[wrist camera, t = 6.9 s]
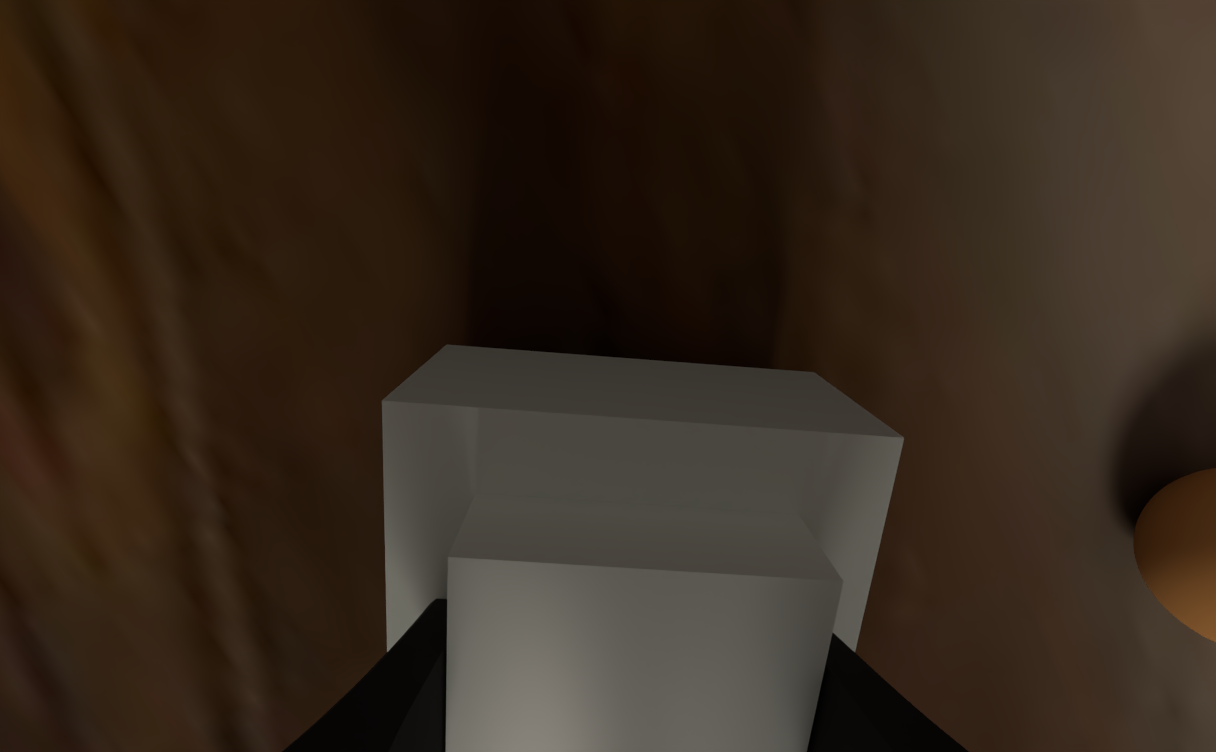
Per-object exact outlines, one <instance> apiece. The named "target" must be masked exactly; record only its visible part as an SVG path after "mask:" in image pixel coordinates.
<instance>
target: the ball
mask: <svg viewBox="0 0 1216 752" xmlns="http://www.w3.org/2000/svg"><path fill="white" fill-rule="evenodd" d="M1134 554H1135V558H1136V562H1137V565H1138V569H1139V571H1140V573H1141V575H1142V577H1143V579H1144V581H1145V583H1146V585H1147V586H1148V587H1149V589H1150V590H1151V592H1152V593H1153V594H1154V596H1155V597H1156V598H1157V600H1158V601H1159V602H1160V603H1161V604H1162V605H1163V606H1164V607H1165V608H1166V609H1167V610H1168V611H1169V612H1170V613H1171V614H1172V615H1173V616H1175V617H1176V618H1177V619H1178V620H1180V621H1181V622H1182V623H1183V624H1185V625H1186V626H1188V627H1189V628H1191V629H1192V630H1194V631H1196V632H1197V633H1199V634H1200V635H1202V636H1204V637H1206V638H1208V639H1210V640H1212V641H1214V642H1216V468H1212V469H1206V470H1201V471H1198V472H1195V473H1192V474H1189V475H1186V476H1184V477H1181V478H1179V479H1177V480H1175V481H1173V482H1171V483H1170V484H1168V485H1167V486H1165V487H1164V488H1162V489H1161V490H1160V491H1159V492H1157V493H1156V494H1155V495H1154V496H1153V497H1152V498H1151V499H1150V500H1149V502H1148V503H1147V504H1146V505H1145V507H1144V509H1143V510H1142V512H1141V514H1140V516H1139V518H1138V520H1137V523H1136V526H1135V531H1134Z"/></svg>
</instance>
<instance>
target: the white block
mask: <svg viewBox="0 0 1216 752" xmlns="http://www.w3.org/2000/svg"><path fill="white" fill-rule="evenodd" d="M382 425H383V473H384V521H385V569H386V617H387V652H388V651H389V650H390V649H391V648H392V647H393V646H394V644H395V643H396V642H397V641H398V640H399V639H400V638H401V637H402V636H403V635H404V633H405V632H406V631H407V630H408V629H409V628H410V627H411V625H412V624H413V623H414V622H415V621H416V620H417V618H418V617H419V616H420V615H421V614H422V613H423V611H424V610H425V609H426V608H427V607H428V605H429V604H430V603H431V602H433V601H434V600H435V599H436V598H438V599H447V671H446V752H807V748H808V744H809V739H810V734H811V730H812V725H813V721H814V716H815V711H816V707H817V702H818V697H819V693H820V688H821V683H822V679H823V674H824V670H825V665H826V660H827V656H828V651H829V646H830V642H831V637H832V632H833V633H834V634H835V635H836V636H837V637H838V638H840V639H841V640H842V641H843V642H844V643H845V644H846V645H847V646H848V647H849V648H850V649H851V650H852V651H854V652H855V650H856V645H857V641H858V637H859V632H860V628H861V623H862V619H863V615H864V610H865V606H866V602H867V597H868V593H869V589H870V584H871V580H872V576H873V571H874V567H875V563H876V558H877V554H878V550H879V545H880V541H881V537H882V532H883V528H884V523H885V519H886V515H887V510H888V506H889V502H890V497H891V493H892V489H893V484H894V480H895V476H896V471H897V467H898V463H899V458H900V454H901V450H902V445H903V441H904V437H902V436H901V435H900V434H898V433H897V432H896V431H894V430H893V429H891V428H890V427H889V426H887V425H886V424H884V423H883V422H882V421H880V420H879V419H878V418H876V417H875V416H873V415H872V414H871V413H869V412H868V411H867V410H865V409H864V408H862V407H861V406H860V405H858V404H857V403H856V402H854V401H853V400H851V399H850V398H849V397H847V396H846V395H845V394H843V393H842V392H840V391H839V390H838V389H836V388H835V387H834V386H832V385H831V384H829V383H828V382H827V381H825V380H824V379H823V378H821V377H820V376H818V375H817V374H816V373H814V372H803V371H790V370H777V369H764V368H750V367H737V366H724V365H711V364H697V363H684V362H671V361H658V360H644V359H631V358H618V357H605V356H591V355H578V354H565V353H551V352H538V351H525V350H512V349H498V348H485V347H472V346H459V345H445V346H444V347H443V348H442V349H441V350H440V351H439V352H437V353H436V354H435V355H434V356H433V357H432V358H430V359H429V360H428V361H427V362H426V363H425V364H424V365H422V366H421V367H420V368H419V369H418V370H417V371H415V372H414V373H413V374H412V375H411V376H410V377H409V378H407V379H406V380H405V381H404V382H403V383H402V384H401V385H399V386H398V387H397V388H396V389H395V390H394V391H392V392H391V393H390V394H389V395H388V396H387V397H386V398H384V399H383V400H382Z"/></svg>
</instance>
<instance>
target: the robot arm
mask: <svg viewBox="0 0 1216 752" xmlns="http://www.w3.org/2000/svg"><path fill="white" fill-rule="evenodd" d="M446 671H447V599H438V598H436V599H435V600H434V601H433V602H431V603H430V604H429V605H428V607H427V608H426V609H425V610H424V611H423V613H422V614H421V615H420V616H419V617H418V618H417V620H416V621H415V622H414V623H413V624H412V625H411V627H410V628H409V629H408V630H407V631H406V632H405V633H404V635H403V636H402V637H401V638H400V639H399V640H398V641H397V642H396V643H395V644H394V646H393V647H392V648H391V649H390V650H389V651H388V652H387V653H386V654H385V655H384V656H383V657H382V658H381V659H380V660H379V661H378V663H377V664H376V665H375V666H374V667H373V668H372V669H371V670H370V671H369V672H368V673H367V674H366V675H365V676H364V677H363V678H362V679H361V680H360V681H359V682H358V683H357V684H356V685H355V686H354V687H353V688H352V689H351V690H350V691H349V692H348V693H347V694H346V695H345V696H344V697H343V698H342V699H340V700H339V701H338V702H337V703H336V704H335V705H334V706H333V707H332V708H331V709H330V710H329V711H328V712H327V713H326V714H325V715H324V716H323V717H321V718H320V719H319V720H318V721H317V722H316V723H315V724H314V725H313V726H311V727H310V728H309V729H308V730H307V731H306V732H305V733H304V734H302V735H301V736H300V737H299V738H298V739H297V740H295V741H294V742H293V743H292V744H291V745H290V746H288V747H287V748H286V749H285V750H284V751H282V752H446ZM807 752H968V751H967V750H966V749H965V748H964V747H962V746H961V745H960V744H959V743H957V742H956V741H955V740H954V739H952V738H951V737H950V736H949V735H948V734H946V733H945V732H944V731H943V730H941V729H940V728H939V727H938V726H937V725H935V724H934V723H933V722H932V721H931V720H929V719H928V718H927V717H926V716H925V715H924V714H922V713H921V712H920V711H919V710H918V709H917V708H915V707H914V706H913V705H912V704H911V703H910V702H909V701H907V700H906V699H905V698H904V697H903V696H902V695H901V694H900V693H898V692H897V691H896V690H895V689H894V688H893V687H892V686H891V685H889V684H888V683H887V682H886V681H885V680H884V679H883V678H882V677H881V676H880V675H878V674H877V673H876V672H875V671H874V670H873V669H872V668H871V667H870V666H869V665H868V664H867V663H865V662H864V661H863V660H862V659H861V658H860V657H859V656H858V655H857V654H856V653H855V652H854V651H852V650H851V649H850V648H849V647H848V646H847V645H846V644H845V643H844V642H843V641H842V640H841V639H840V638H838V637H837V636H836V635H835V634H834V633H833V632H832V637H831V642H830V646H829V651H828V656H827V660H826V665H825V670H824V674H823V679H822V683H821V688H820V693H819V697H818V702H817V707H816V711H815V716H814V721H813V725H812V730H811V734H810V739H809V744H808V748H807Z"/></svg>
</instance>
